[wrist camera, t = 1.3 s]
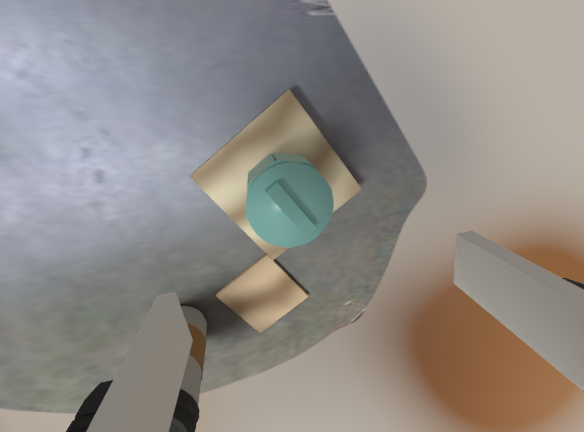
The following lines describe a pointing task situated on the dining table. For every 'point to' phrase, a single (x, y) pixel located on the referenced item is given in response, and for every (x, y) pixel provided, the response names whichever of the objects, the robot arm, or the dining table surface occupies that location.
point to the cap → (288, 200)
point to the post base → (259, 144)
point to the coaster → (262, 293)
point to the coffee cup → (191, 374)
